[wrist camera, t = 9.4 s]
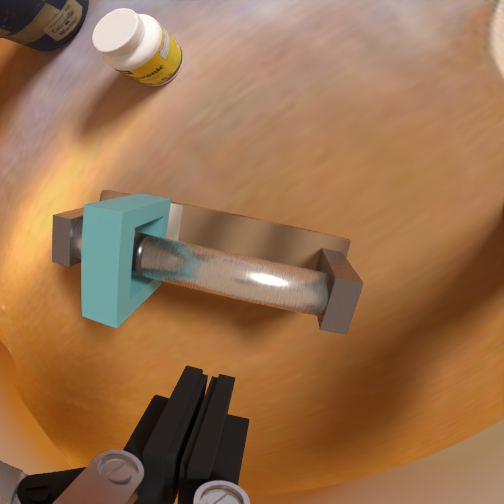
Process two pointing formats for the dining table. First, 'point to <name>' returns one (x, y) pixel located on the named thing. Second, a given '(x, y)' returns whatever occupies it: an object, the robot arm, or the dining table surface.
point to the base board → (246, 235)
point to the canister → (41, 21)
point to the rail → (231, 273)
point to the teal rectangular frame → (117, 255)
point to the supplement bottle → (138, 47)
